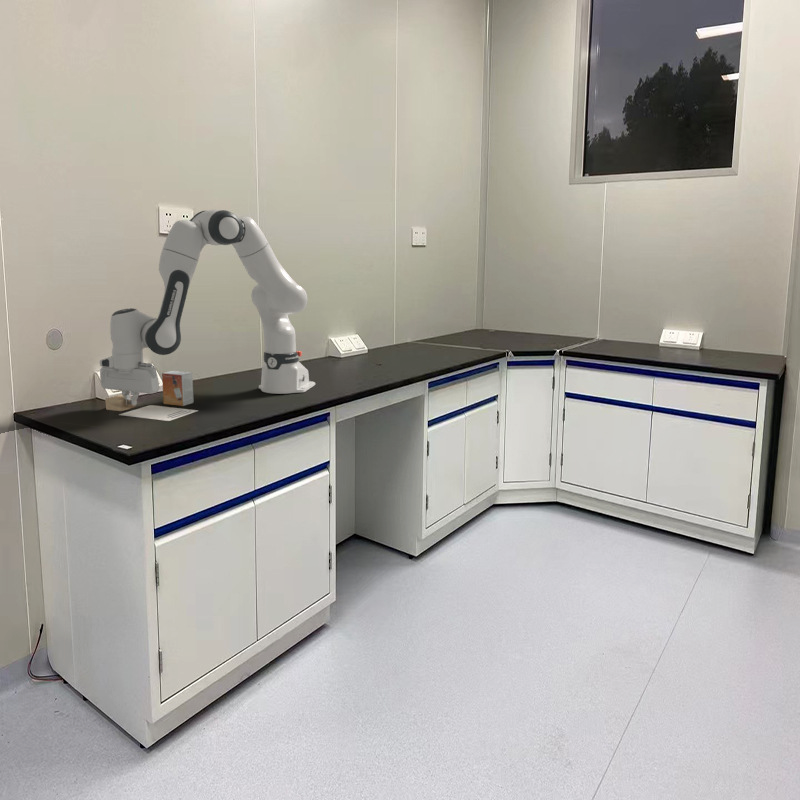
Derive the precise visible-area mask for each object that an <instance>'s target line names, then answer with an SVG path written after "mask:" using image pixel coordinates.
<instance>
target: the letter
mask: <svg viewBox="0 0 800 800" xmlns="http://www.w3.org/2000/svg"><path fill="white" fill-rule="evenodd" d="M198 411H199V410H196V409H188V408H180V407H178V408H177V407H169V406H162V405H154V404H149V405H147V406H142V407H140V408H136V409H132V410H130V411H126V412H123V413H119V414H118V416H126V417H133V418H135V417H136V418H140V419H151V420H159V421H166V422H170V421H173V420H176V419H179V418H181V417H185V416H188V415H190V414H193V413H196V412H198Z"/></svg>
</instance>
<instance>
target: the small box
mask: <svg viewBox="0 0 800 800" xmlns="http://www.w3.org/2000/svg"><path fill="white" fill-rule="evenodd" d="M161 376H162V377H161V380H162V381H161V382H162V397H163V398H162V399H163V405H172V406H180V407H184V406H188V405H191V404H194V401H195V400H194V387H193V386H194V384H193V383H194V382H193V372H192V371H190V372H189V371H177V370H169V371H166V372H162V374H161Z"/></svg>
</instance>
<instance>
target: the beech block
mask: <svg viewBox="0 0 800 800" xmlns="http://www.w3.org/2000/svg"><path fill="white" fill-rule="evenodd" d="M132 396H133V395H130V397H131V398H132ZM104 400H105V408H106V410H107V411H115V412H116V411H118V412H123V411H127V410H131V409H133V408H136V405H126V400H125V398H124V397H123V395H122V394H118V395H113V396H109V397H108V398H107V397H106V398H104Z"/></svg>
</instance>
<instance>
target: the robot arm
mask: <svg viewBox="0 0 800 800" xmlns="http://www.w3.org/2000/svg"><path fill="white" fill-rule="evenodd" d="M265 235H266V234H265V233H264V232H263V230H262V229H261V227H260V226H259V225H258V224H257V223H256V221H255V220H254V218H252V217H250V216H244V215H243V216H239V217H238V216H237V215H235V213H232V212H231V211H229V210H224V209H223V210H221V209H210V210H201V211H199V212H197V213H195V215H193V217H192V218H190V219H189V220H188V219H181V220H180V219H178V220H177V221H175V222H174V223H173V224H172V226H171V228H170V230H169V232H168V234H167V236H166V237H165V241H164V244H163V246H162V250H161V253H160V257H159V263H158V272H159V274H160V276H161V279H162V281H163V284H164V285H163V286H164V292H163V298H162V301H161V305H160V309H159V313H158V316H157V318H156V317H153V316H150V315H148V314H145V313H143V312H141V311H139V310H138V309H137V308H131V307H130V308H123V309H120V310H119V309H118V310H117V311H114V312H113V313H112V314H111V317H110V324H109V326H110V327H109V329H110V330H109V331H110V340H111V343H112V349H111V356H109V357H106V358H103V359H100V360H99V366H100V367H101V368H100V371H99V375H100V376H99V378H100V381H99V382H100V385H101V388H102V389H104V390H105V389H106V390H113V391H121V395H123V397H124V398H125V400H126V405H135V406H137V405H138V401H137V400H138V397H139V396H140V394H141V393H142V394H150V395H151V394H156V393H157V392H159V390H160V383H159V377H158V373H157V368H156V367H155V366H154V364H152V363H149V362H146V363H145V362H144V352H143V350H144V349H145V348H147V349H149V350H150V351H151V352H152V353H154V354H157V355H159V356H167V355H170V354H172V353H174V352H175V351H176V350H177V349H178V348H179V346H180V344H181V341H182V335H181V326H180V325H181V319H182V314H183V313H184V312H183V311H184V307H185V303H186V299H187V296H188V290H189V288H190V285H191V281H192V279H193V277H194V274H195V271H196V269H197V265H198V262H199V259H200V255H201V252H202V250H203V248H204V247H205V246H206V245H211V246H221V245H223V246H229V245H231V246H233V248H234V250H235V252H236V254H237V256H238V257H239V259H240V261H241V263H242V265H243V267H244V269H245V271H246V272H247V275H248V276H249V277H250V278H251V279H252V280H253V281H255V282H256V283H257V284H256V285H255V286H254V287H253V289H252V291H251V295H250V296H251V301H252V303H253V305H254V306H255V307H256V309H257V311H258V313H259V314H258V315H259V317H260V321H261V324H262V328H263V336H264V337H263V338H264V340H263V341H264V351H263V362H264V364H263V365H262V367H261V379H260V380H261V381H260V384H258V389H259V390H261V392H263V393H265V394H280V395H281V394H284V395H287V394H295V393H299V394H300V393H305V392H307V391H308V390H310V389H311V388H313V387H315V385H316V382H315V381H311V380H310V377H309V376H310V374H309V369H307V368H306V367H305V366H304V365H303V364H302V363H301V362H300V357H302V355H303V351H301V350H299V351H298V350H297V346H296V345H297V344H296V343H297V341H296V340H297V339H296V337H297V336H296V329H295V327H294V326H293V325H292V322H291V320H290V319H289V315H295V314H298V313H301V312H303V311H304V310H305V308H306V306H307V304H308V294H307V292H306V290H305V289H304V287H302V286H301V285H299V284H298V283H297V282H296V281H295V280H294V279H293V278H292V277H291V276H290V275H289V273H288V272H287V271H286V270H285V269H284V267H283V265H282V264H281V263H280V261H279V259H278V258H277V256H276V254H275V252H274V251H273V248H272V246H271V245H270V243H269V241H268V239H267V237H266V236H265ZM130 394H131V395H130ZM130 396H132V398H131V397H130Z"/></svg>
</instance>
